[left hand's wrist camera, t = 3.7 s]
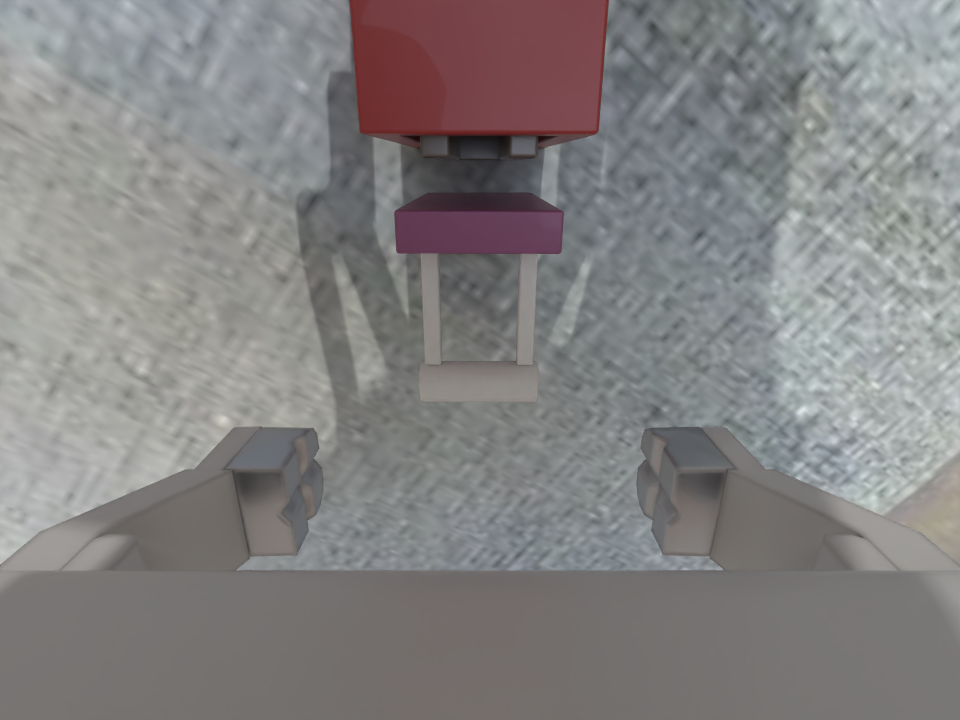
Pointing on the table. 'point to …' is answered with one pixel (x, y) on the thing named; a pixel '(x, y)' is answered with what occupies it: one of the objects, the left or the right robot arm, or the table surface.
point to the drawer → (479, 230)
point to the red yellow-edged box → (479, 68)
